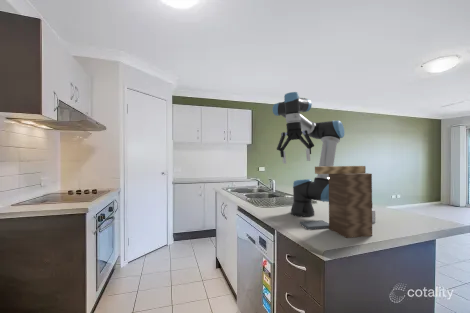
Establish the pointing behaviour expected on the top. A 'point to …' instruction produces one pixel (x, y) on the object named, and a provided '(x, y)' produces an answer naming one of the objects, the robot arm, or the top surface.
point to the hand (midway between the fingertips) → (296, 162)
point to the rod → (339, 169)
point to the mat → (315, 224)
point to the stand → (350, 204)
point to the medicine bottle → (373, 216)
